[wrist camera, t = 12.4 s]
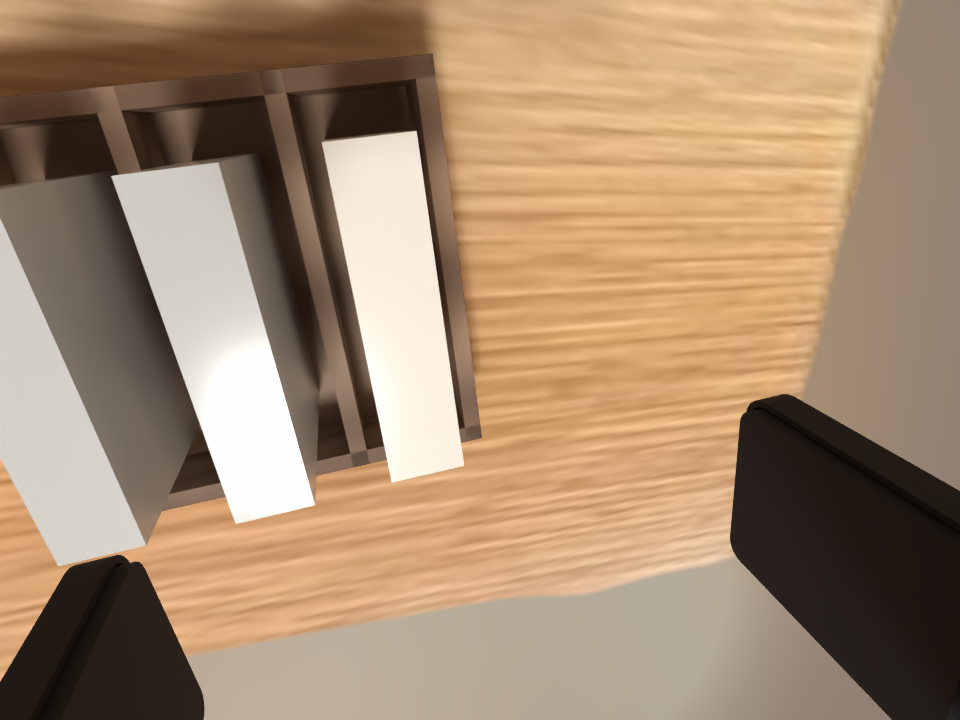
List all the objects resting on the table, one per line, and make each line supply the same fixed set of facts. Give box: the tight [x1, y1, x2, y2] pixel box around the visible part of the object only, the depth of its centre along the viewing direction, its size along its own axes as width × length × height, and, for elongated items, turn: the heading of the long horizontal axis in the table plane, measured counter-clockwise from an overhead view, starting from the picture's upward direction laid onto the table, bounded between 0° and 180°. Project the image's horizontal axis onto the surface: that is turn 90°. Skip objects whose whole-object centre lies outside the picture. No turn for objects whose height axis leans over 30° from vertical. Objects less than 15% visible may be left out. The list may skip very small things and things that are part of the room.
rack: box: [0, 54, 482, 511], centre depth 26 cm, size 18×18×4 cm
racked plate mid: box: [111, 152, 320, 524], centre depth 22 cm, size 12×3×10 cm, turn 7°
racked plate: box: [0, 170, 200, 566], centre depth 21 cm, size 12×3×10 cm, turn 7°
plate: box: [322, 131, 464, 482], centre depth 23 cm, size 12×3×10 cm, turn 6°
